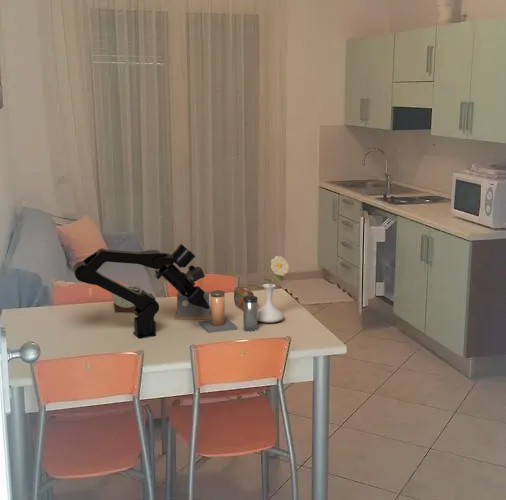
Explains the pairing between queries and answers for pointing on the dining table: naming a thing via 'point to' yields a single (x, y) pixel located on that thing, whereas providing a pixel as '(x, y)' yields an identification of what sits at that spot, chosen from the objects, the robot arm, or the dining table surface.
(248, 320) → the cylinder
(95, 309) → the dining table surface
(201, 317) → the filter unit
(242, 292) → the tin
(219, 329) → the mat
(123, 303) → the food container
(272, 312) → the flower in vase
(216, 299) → the cylinder
